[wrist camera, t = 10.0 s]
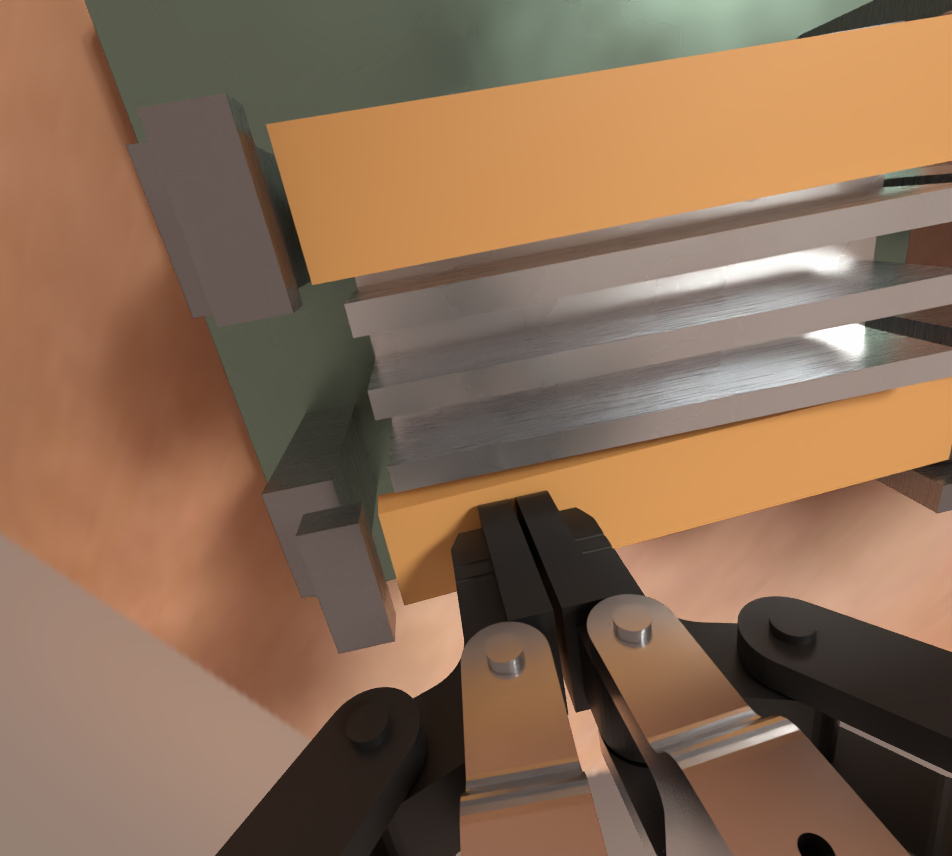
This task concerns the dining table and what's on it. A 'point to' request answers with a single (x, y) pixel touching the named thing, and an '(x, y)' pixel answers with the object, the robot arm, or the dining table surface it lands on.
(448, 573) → the strap
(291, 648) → the dining table surface
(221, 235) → the green base rail fixture
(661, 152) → the strap
